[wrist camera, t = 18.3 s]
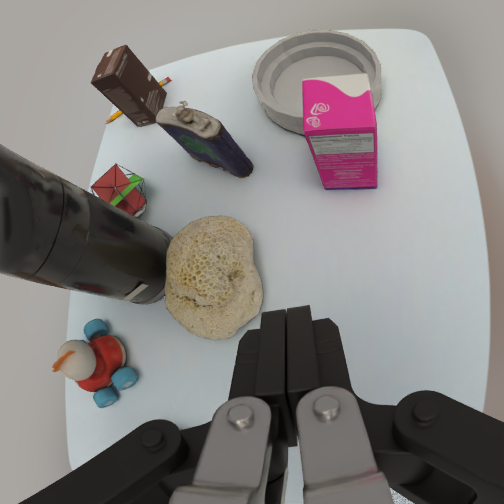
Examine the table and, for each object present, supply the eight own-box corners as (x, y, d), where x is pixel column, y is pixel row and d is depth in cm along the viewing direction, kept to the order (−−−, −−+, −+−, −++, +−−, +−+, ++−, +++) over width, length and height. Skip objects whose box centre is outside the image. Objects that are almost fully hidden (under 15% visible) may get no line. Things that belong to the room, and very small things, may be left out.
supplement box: (321, 144, 35) (301, 75, 24) (373, 142, 33) (371, 71, 22) (322, 191, 33) (301, 130, 23) (378, 190, 31) (381, 126, 21)
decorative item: (146, 230, 34) (202, 188, 28) (208, 249, 40) (268, 217, 34) (142, 341, 30) (205, 326, 23) (212, 347, 36) (281, 334, 29)
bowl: (268, 149, 37) (258, 130, 33) (257, 64, 41) (248, 45, 37) (396, 126, 32) (398, 104, 28) (361, 43, 36) (359, 22, 32)
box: (161, 121, 44) (111, 73, 32) (137, 127, 45) (87, 84, 34) (169, 91, 45) (126, 42, 34) (146, 97, 46) (102, 53, 35)
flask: (188, 158, 40) (141, 112, 30) (200, 139, 40) (157, 90, 30) (246, 182, 36) (205, 131, 27) (259, 161, 37) (223, 105, 27)
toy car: (77, 353, 39) (20, 352, 30) (110, 315, 39) (50, 306, 29) (107, 409, 36) (49, 419, 27) (145, 374, 35) (85, 380, 26)
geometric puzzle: (104, 161, 32) (165, 180, 38) (95, 155, 37) (147, 171, 42) (86, 222, 33) (146, 235, 39) (79, 207, 38) (131, 219, 44)
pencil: (167, 77, 45) (168, 76, 45) (102, 122, 47) (103, 121, 48) (170, 80, 45) (170, 80, 46) (105, 126, 48) (106, 125, 48)
